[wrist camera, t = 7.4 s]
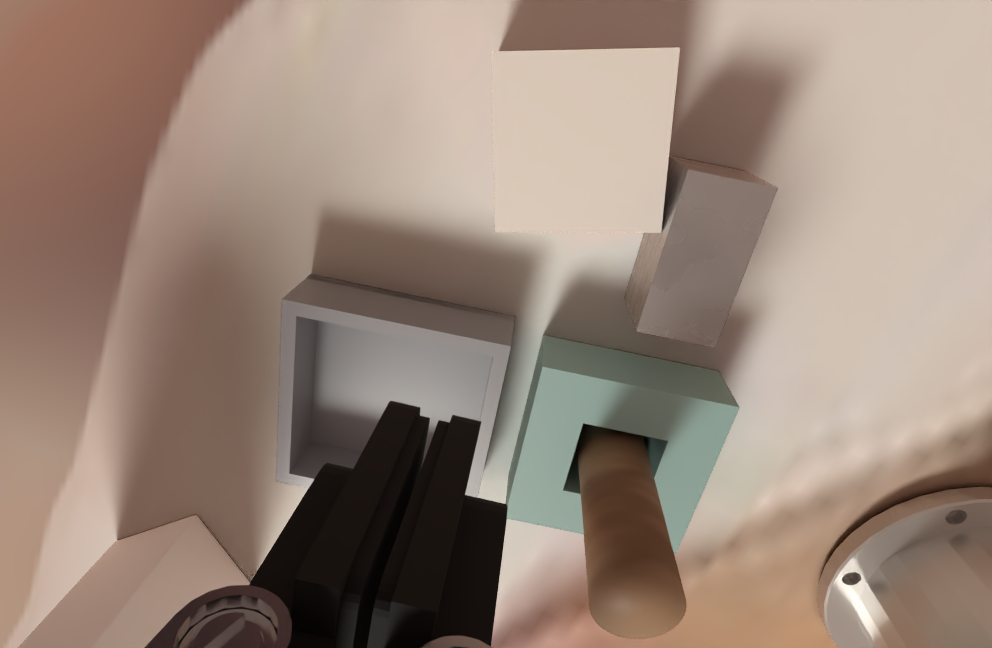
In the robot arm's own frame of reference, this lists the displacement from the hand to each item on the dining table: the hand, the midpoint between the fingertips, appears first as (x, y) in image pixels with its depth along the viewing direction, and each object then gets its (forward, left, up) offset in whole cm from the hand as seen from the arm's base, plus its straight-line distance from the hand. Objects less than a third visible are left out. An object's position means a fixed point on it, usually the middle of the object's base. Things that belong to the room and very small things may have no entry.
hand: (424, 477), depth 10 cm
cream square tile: (-2, -5, -15) cm, 16 cm away
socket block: (-7, +8, -15) cm, 18 cm away
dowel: (-7, +8, -15) cm, 18 cm away
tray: (+3, +8, -15) cm, 17 cm away
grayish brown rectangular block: (-7, -2, -15) cm, 17 cm away
